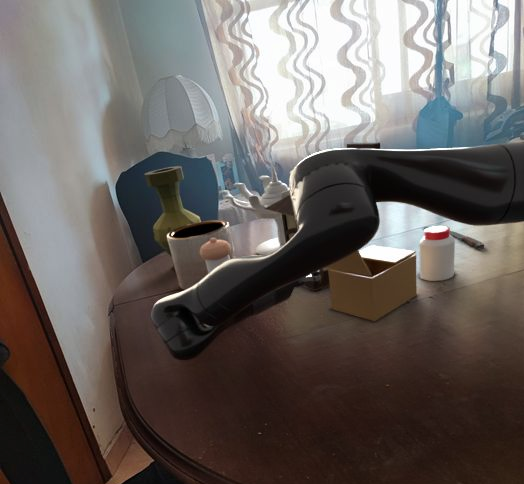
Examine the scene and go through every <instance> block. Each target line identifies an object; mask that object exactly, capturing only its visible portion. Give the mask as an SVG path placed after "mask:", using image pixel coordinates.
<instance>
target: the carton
mask: <svg viewBox="0 0 524 484" xmlns="http://www.w3.org/2000/svg"><path fill="white" fill-rule="evenodd" d="M358 251H359V253H360V255H361V256H362V258H363V260H364V262H365V263H366V265H367V267H368V269H369V270H370V272H371V274H372V275H371V276H367V275H362V274H357V273H352V272H347V271H342V270H337V269H332V268H331V269H329V270H328V274H329V283H330V286H329V291H330V301H331V309H332V310H333V311H336V312H341V313H344V314H347V315H352V316H354V317H358V318H362V319H366V320H369V321H373V322H376V321H378V320H379V319H382V318H383V317H384V316H385V315H388V314H389V313H390V312H392V311H393V310H395V309H397V308H398V307H400V306H401V305H404V304H405V303H406V302H408V301H410V300H411V299H413V298H415V297H416V296H417V294H418V293H417V291H418V290H417V254H416V252H417V251H416V250H410V249H403V248H402V249H401V248H396V247H395V248H394V247H388V246H380V245H372V244H371V245H368V246H367V247H365V248H362V249H360V250H358Z"/></svg>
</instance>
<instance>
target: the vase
mask: <svg viewBox="0 0 524 484" xmlns="http://www.w3.org/2000/svg"><path fill="white" fill-rule="evenodd" d="M144 179H145V181H146V186H147V187H149V188H150V187H151V188H152V187H153V188H154V190H155V192H156V195H157V196H158V197H159V201H160V204H161V208H162V212H163V213H161V215H160V217H159V218H158V219H157V221H156V222H155V223H154V224H153V226H152V232H153V237H154V241H155V242H156V243H157V244H158V245H159V246H160V247H161V248H162V249H163V250H164V251H165V252H166V253H167V254H168V255H169V256H170V257H171V258H172V255H171V251H170V247H169V243H168V240H167V234H168V233H170V232H171V231H173V230H175V229H177V228H180V227H182V226H185V225H189V224H193V223H197V222H202V220H201V216H199V215H197V214H195V213H193V212H192V211H190V210H187V209H185V208H184V206H183V204H182V203H183V202H182V199H181V195H180V181H181V182H182V181H183V180H184V179H185V177H184V171H183V168H182V165H181V166H180V165H177V166H175V165H174V166H169V167H168V166H167V167H164V168H159V169H155V170H152V171H148V172H145V173H144ZM172 263H173V270H174V271H176V270H175V266H174V262H173V261H172Z"/></svg>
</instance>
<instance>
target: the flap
mask: <svg viewBox="0 0 524 484" xmlns="http://www.w3.org/2000/svg"><path fill="white" fill-rule="evenodd" d="M359 251H360V250H358V251H356V252H355V253H353V254H351V255H349V256H348V257H346V258H344V259H342V260H340V261H338V262H336V263H334V264H332V265H329V266H327V268H332V269H337V270H342V271H347V272H352V273H357V274H362V275H367V276H371V275H372V274H371V272H370V270H369V269H368V267H367V265H366V263H365V262H364V260H363V258H362V256H361V255H360V253H359Z"/></svg>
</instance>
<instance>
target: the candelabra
mask: <svg viewBox="0 0 524 484" xmlns="http://www.w3.org/2000/svg"><path fill="white" fill-rule="evenodd" d="M292 171H293V170H291V171H289V174H290V175H291V173H292ZM276 172H277V171H276V169H275V165H274V162H271V176H268V175H261V176H259V177H258V178H259V180H261V181H262V186H263V191H264V193H263V194H262V195H261V196H259V195H257V194H252V192H250V191H249V190H248V188H247V187H246V184H245V183H244V182H235V183H234V184H232V186H233V187H235V188H238V191H239V193H240V194H241V196H243V197H244V198H245V199H246V200H247V201H244V200H240V199H237V198H235V197H234V196H233V195H232V194H231V193H230V190H229V189H224V190H220V191H219V194H221V195H225V196H224V198H225V199H227V200H228V201H229V203H230V204H231V205H232V206H233V207H235V208H238V209H241V210H245V211H248V212H251V213H253V214H254V216H255V217H256V219H262V220H274V223H275V224H276V228H277V237H274V238H271V239H268V240H266V241H263V242H262V243H260V244H259V245H258V246H257V247H256V250H255V251H256V253H257V254H258V255H266V254H270V253H273V252H275V251H277V250H278V249H280V248H281V247H283V246H284V245H285V244H286V241H285V234H284V227H283V221H282V214H281V213H278V212H274V211H270V210H266V209H265V208H267V207H268V206H270V205H272V204H274V203H276V202H278V201H279V200H281V199H283V198H285V197H287V196H288V195H290V191H289V186H288V185H287V184H286V183H284V182H282V181H281V180H278V176H277V173H276Z"/></svg>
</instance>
